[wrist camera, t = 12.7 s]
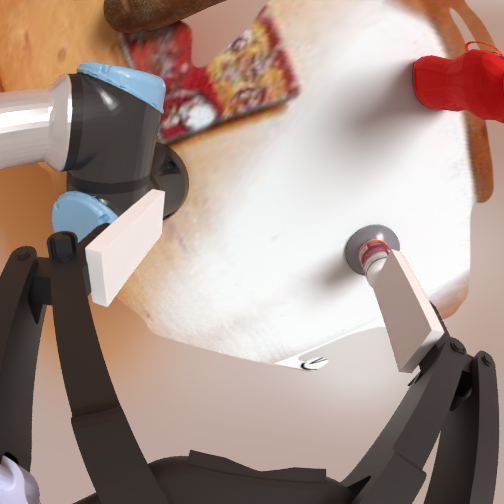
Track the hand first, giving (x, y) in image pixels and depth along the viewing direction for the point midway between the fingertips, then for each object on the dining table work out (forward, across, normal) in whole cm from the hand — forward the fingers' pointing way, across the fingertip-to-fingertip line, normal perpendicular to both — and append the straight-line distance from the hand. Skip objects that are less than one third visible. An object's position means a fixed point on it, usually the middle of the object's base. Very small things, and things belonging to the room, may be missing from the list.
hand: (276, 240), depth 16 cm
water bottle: (+35, +22, +20) cm, 46 cm away
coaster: (+35, +22, -15) cm, 44 cm away
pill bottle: (+34, +22, -15) cm, 43 cm away
